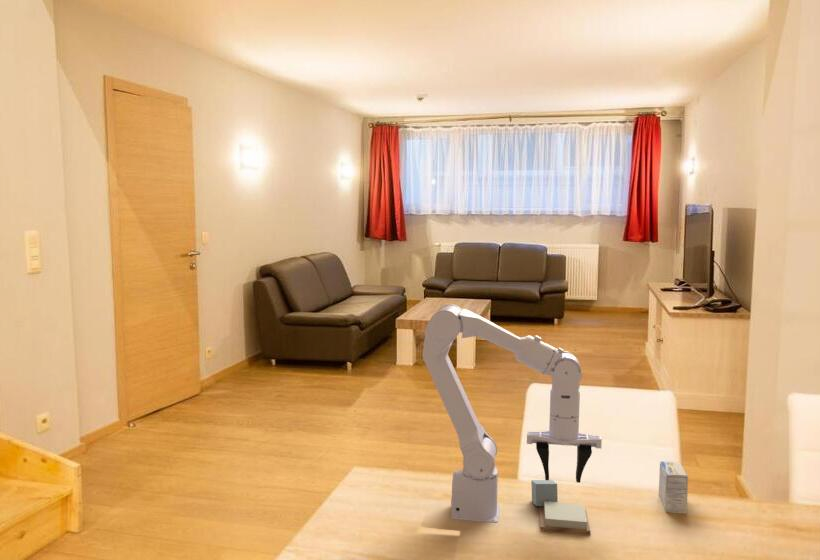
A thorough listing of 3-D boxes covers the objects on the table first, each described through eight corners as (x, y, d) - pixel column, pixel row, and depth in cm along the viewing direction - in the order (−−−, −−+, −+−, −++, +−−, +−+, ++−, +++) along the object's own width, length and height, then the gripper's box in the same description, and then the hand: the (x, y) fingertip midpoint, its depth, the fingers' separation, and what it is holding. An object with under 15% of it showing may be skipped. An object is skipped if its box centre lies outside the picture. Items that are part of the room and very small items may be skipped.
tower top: (545, 525, 130) (545, 518, 130) (544, 508, 138) (544, 501, 138) (587, 529, 129) (587, 522, 129) (583, 511, 137) (583, 504, 137)
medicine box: (687, 516, 136) (689, 476, 135) (664, 514, 137) (666, 474, 136) (679, 500, 144) (681, 461, 143) (657, 498, 145) (659, 460, 144)
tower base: (540, 534, 130) (540, 526, 130) (539, 512, 139) (539, 505, 139) (590, 538, 128) (590, 531, 128) (585, 516, 138) (585, 509, 138)
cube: (536, 506, 138) (535, 483, 139) (531, 501, 143) (531, 480, 143) (557, 506, 139) (557, 483, 139) (552, 501, 143) (552, 480, 144)
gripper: (527, 418, 130) (526, 484, 131) (604, 422, 127) (601, 490, 129) (527, 407, 137) (525, 471, 138) (600, 411, 134) (597, 476, 135)
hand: (562, 479), depth 134 cm, fingers open, 5 cm apart
